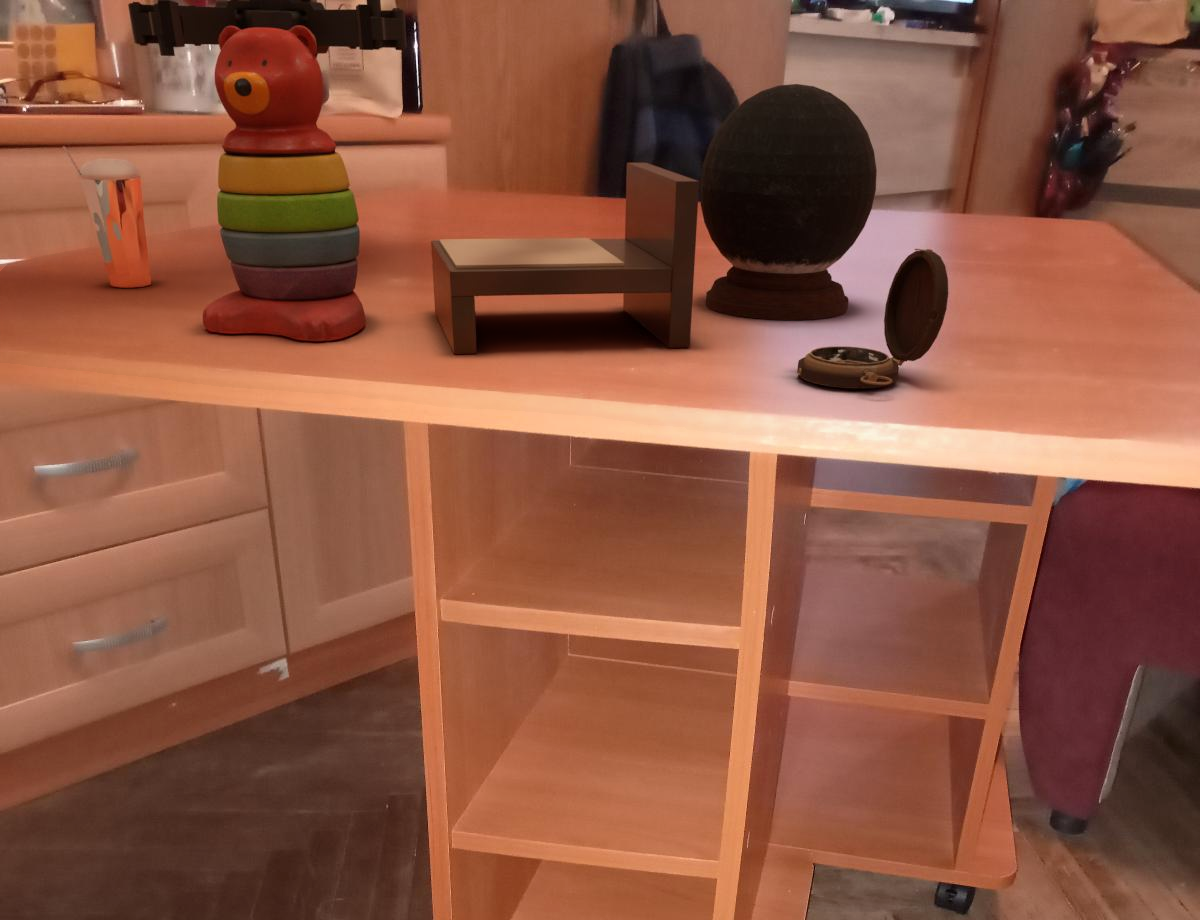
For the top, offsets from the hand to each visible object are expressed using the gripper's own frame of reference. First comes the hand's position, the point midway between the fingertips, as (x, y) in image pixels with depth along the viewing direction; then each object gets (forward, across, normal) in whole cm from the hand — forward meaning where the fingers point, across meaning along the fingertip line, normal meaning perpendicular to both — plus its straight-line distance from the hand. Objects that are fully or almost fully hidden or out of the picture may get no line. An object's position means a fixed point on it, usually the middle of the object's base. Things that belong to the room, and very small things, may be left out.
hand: (268, 25), depth 81 cm
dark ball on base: (+8, -37, -18) cm, 42 cm away
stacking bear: (+10, 0, -18) cm, 21 cm away
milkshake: (-8, +14, -18) cm, 24 cm away
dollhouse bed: (+14, -18, -18) cm, 29 cm away
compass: (+32, -34, -18) cm, 50 cm away
